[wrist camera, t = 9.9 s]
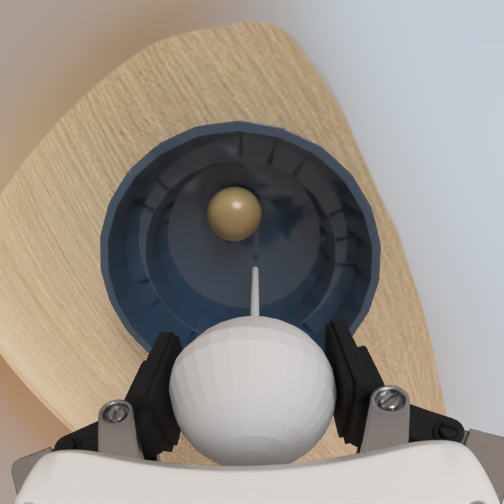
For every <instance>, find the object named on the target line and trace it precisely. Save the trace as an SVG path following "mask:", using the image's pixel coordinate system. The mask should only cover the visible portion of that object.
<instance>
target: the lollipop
mask: <svg viewBox="0 0 504 504" xmlns="http://www.w3.org/2000/svg"><path fill="white" fill-rule="evenodd" d="M169 394H170V399H171V403H172V408H173V412H174V416H175V418H176V420H177V423H178V425H179V427H180V429H181V431H182V433H183V435H184V436H185V437H186V438H187V440H188V441H189V442H190V443H191V444H192V445H193V447H194V448H195V449H196V450H197V451H199V452H200V453H201V454H203V455H204V456H205V457H207V458H209V459H210V460H212V461H213V462H215V463H217V464H219V465H222V466H259V465H277V464H289V463H292V462H293V461H295V460H297V459H299V458H300V457H302V456H303V455H305V454H306V453H308V452H309V451H310V450H311V449H312V448H313V447H314V446H315V445H316V444H317V442H318V441H319V440H320V439H321V438H322V436H323V435H324V434H325V432H326V430H327V428H328V426H329V423H330V421H331V419H332V416H333V413H334V410H335V406H336V402H337V388H336V381H335V377H334V373H333V370H332V367H331V365H330V363H329V361H328V359H327V357H326V356H325V354H324V352H323V351H322V349H321V348H320V347H319V346H318V345H317V344H316V343H315V342H314V341H313V340H312V339H311V338H310V337H309V336H308V335H307V334H306V333H305V332H303V331H302V330H300V329H299V328H297V327H296V326H293V325H291V324H288V323H286V322H284V321H281V320H278V319H274V318H269V317H264V316H259V269H258V268H257V267H253V268H252V286H251V313H250V316H246V317H238V318H234V319H230V320H227V321H224V322H221V323H219V324H217V325H215V326H213V327H210V328H209V329H207V330H206V331H205V332H203V333H202V334H201V335H199V336H198V337H197V338H196V339H195V340H194V341H193V342H192V343H190V344H189V345H188V346H187V347H185V348H184V349H183V351H182V352H181V353H180V354H179V356H178V357H177V358H176V361H175V363H174V365H173V368H172V372H171V377H170V385H169Z"/></svg>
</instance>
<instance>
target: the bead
mask: <svg viewBox="0 0 504 504" xmlns="http://www.w3.org/2000/svg"><path fill="white" fill-rule="evenodd" d="M261 218H262V209H261V205H260V203H259V201H258V199H257V198H256V196H255V195H254V194H253V193H252V192H250V191H249V190H247V189H245V188H242V187H228V188H224V189H222V190H220V191H219V192H217V193H216V194H215V195H214V196H213V198H212V199H211V201H210V203H209V205H208V209H207V219H208V223H209V225H210V227H211V229H212V231H213V232H214V233H215V234H216V235H217V236H219V237H220V238H222V239H225V240H228V241H241V240H244V239H246V238H248V237H250V236H251V235H252V234H253V233H254V232H255V231H256V230H257V229H258V227H259V225H260V222H261Z"/></svg>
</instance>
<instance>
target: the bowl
mask: <svg viewBox="0 0 504 504" xmlns="http://www.w3.org/2000/svg"><path fill="white" fill-rule="evenodd" d="M228 187H242V188H245V189H247V190H249V191H250V192H252V193H253V194H254V195H255V196H256V198H257V199H258V201H259V203H260V205H261V209H262V218H261V222H260V225H259V227H258V229H257V230H256V231H255V232H254V233H253V234H252V235H251V236H250V237H248V238H246V239H244V240H241V241H228V240H225V239H222V238H220V237H219V236H217V235H216V234H215V233H214V232H213V231H212V229H211V227H210V225H209V223H208V219H207V209H208V205H209V203H210V201H211V199H212V198H213V196H214V195H215V194H216V193H217V192H219V191H220V190H222V189H224V188H228ZM100 250H101V270H102V271H101V272H102V275H103V279H104V283H105V286H106V290H107V293H108V296H109V300H110V302H111V304H112V306H113V308H114V310H115V311H116V313H117V315H118V317H119V318H120V320H121V322H122V323H123V325H124V327H125V328H126V330H127V331H128V332H129V333H130V334H131V335H132V337H133V338H134V339H135V340H136V341H137V342H138V343H139V344H140V345H141V346H142V347H143V348H144V349H145V350H146V351H147V352H148V353H150V351H151V349H152V347H153V345H154V343H155V341H156V339H157V337H158V335H159V333H160V332H174V334H175V335H178V336H179V339H180V343H181V347H182V350H183V349H184V348H185V347H187V346H188V345H189V344H190V343H192V342H193V341H194V340H195V339H196V338H197V337H198V336H199V335H201V334H202V333H203V332H205V331H206V330H207V329H209V328H210V327H213V326H215V325H217V324H219V323H221V322H224V321H227V320H230V319H234V318H238V317H246V316H250V313H251V286H252V268H253V267H257V268H258V269H259V316H264V317H269V318H274V319H278V320H281V321H284V322H286V323H288V324H291V325H293V326H296V327H297V328H299V329H300V330H302V331H303V332H305V333H306V334H307V335H308V336H309V337H310V338H311V339H312V340H313V341H314V342H315V343H316V344H317V345H318V346H319V347H320V348H321V349H322V351H323V352H324V354H325V329H326V324H330V321H331V320H338V319H344V320H345V322H346V324H347V326H348V328H349V331H350V333H351V335H352V336H353V335H354V333H355V332H356V330H357V329H358V327H359V326H360V324H361V323H362V321H363V320H364V318H365V317H366V315H367V313H368V312H369V309H370V306H371V303H372V300H373V297H374V295H375V292H376V289H377V286H378V282H379V271H380V251H381V246H380V240H379V235H378V231H377V227H376V223H375V219H374V215H373V211H372V208H371V206H370V205H369V203H368V201H367V199H366V198H365V196H364V194H363V192H362V191H361V189H360V187H359V186H358V184H357V182H356V181H355V179H354V177H353V176H352V175H351V173H349V172H348V171H347V170H346V169H345V168H344V167H343V166H342V165H341V164H340V163H339V162H338V161H337V160H336V159H335V158H333V157H332V156H331V155H330V154H329V153H328V152H327V151H326V150H325V149H324V148H322V147H321V146H319V145H317V144H315V143H313V142H311V141H309V140H307V139H305V138H303V137H301V136H299V135H297V134H295V133H293V132H291V131H289V130H286V129H284V128H281V127H276V126H271V125H265V124H258V123H252V122H245V121H232V122H224V123H217V124H210V125H203V126H197V127H194V128H192V129H189V130H187V131H185V132H183V133H180V134H178V135H176V136H174V137H172V138H170V139H168V140H166V141H163V142H161V143H159V145H157V146H156V147H154V148H153V149H152V150H151V151H150V152H149V153H147V154H146V155H145V156H144V157H143V158H142V159H141V160H140V161H139V162H137V163H136V164H135V165H134V166H133V167H132V168H131V169H130V171H128V173H127V174H126V176H125V177H124V179H123V181H122V182H121V184H120V186H119V187H118V189H117V191H116V192H115V194H114V196H113V197H112V199H111V201H110V203H109V206H108V210H107V213H106V217H105V221H104V225H103V228H102V232H101V237H100Z"/></svg>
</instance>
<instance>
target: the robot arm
mask: <svg viewBox="0 0 504 504" xmlns="http://www.w3.org/2000/svg"><path fill="white" fill-rule="evenodd" d="M182 351H183V350H182V347H181V343H180V339H179V336H178V335H175V334H174V332H160V333H159V335H158V337H157V339H156V341H155V343H154V345H153V347H152V349H151V351H150V353H149V355H148V358H147V360H146V361H143V363H142V364H141V366H140V368H139V370H138V372H137V374H136V376H135V378H134V381H133V383H132V385H131V387H130V389H129V391H128V393H127V395H126V397H125V400H113V401H110V402H108V403H106V404H105V405H104V406H103V407H102V408H101V409H100V411H99V418H98V421H97V422H95V423H93V424H90V425H88V426H86V427H84V428H82V429H79V430H77V431H75V432H73V433H70V434H68V435H66V436H64V437H62V438H60V439H59V440H58V441H57V443H56V445H55V448H54V449H52V448H51V447H49V448H46V449H44V450H41V451H39V452H36V453H33V454H31V455H28V456H25V457H22V458H20V459H18V460H16V461H15V462H14V463H13V466H12V476H13V480H14V485H15V488H16V492H17V498H16V500H15V503H14V504H502V501H503V498H504V437H501V436H497V435H493V434H489V433H485V432H481V431H478V430H474V429H470V430H469V431H466V430H464V428H463V426H462V424H461V423H459V422H458V421H457V420H455V419H453V418H450V417H447V416H443V415H440V414H437V413H434V412H431V411H428V410H425V409H422V408H419V407H417V406H414V405H411V404H410V399H409V395H408V394H407V392H406V391H405V390H403V389H402V388H400V387H397V386H392V385H388V386H385V385H384V383H383V380H382V378H381V376H380V374H379V372H378V370H377V368H376V366H375V364H374V362H373V360H372V358H371V356H370V354H369V352H368V350H367V348H366V347H365V346H361V347H357V345H356V343H355V341H354V339H353V337H352V335H351V333H350V331H349V328H348V326H347V324H346V322H345V320H344V319H338V320H331V321H330V324H326V329H325V356H326V357H327V359H328V361H329V363H330V365H331V367H332V370H333V373H334V377H335V381H336V388H337V402H336V406H335V410H334V413H333V415H334V419H335V423H336V427H337V432H338V435H339V438H341V437H344V441H345V444H348V443H351V444H352V445H354V446H356V447H357V451H356V454H353V455H348V456H342V457H336V458H330V459H323V460H316V461H308V462H300V463H289V464H277V465H259V466H208V465H190V464H177V463H167V462H161V460H160V456H159V454H160V453H162V452H163V451H168V452H172V450H173V446H174V445H177V444H178V440H179V436H180V432H181V429H180V427H179V425H178V423H177V420H176V418H175V416H174V412H173V408H172V403H171V399H170V394H169V385H170V377H171V372H172V368H173V365H174V363H175V361H176V358H177V357H178V356H179V354H180V353H181V352H182Z"/></svg>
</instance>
